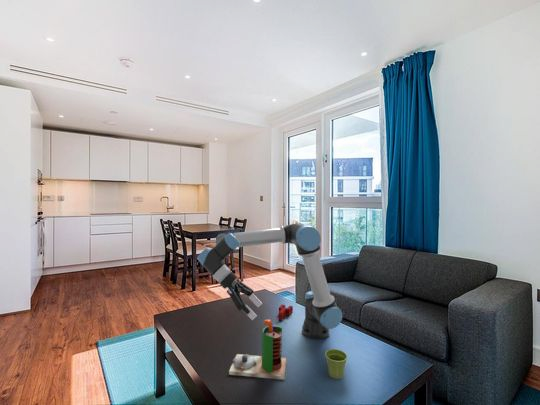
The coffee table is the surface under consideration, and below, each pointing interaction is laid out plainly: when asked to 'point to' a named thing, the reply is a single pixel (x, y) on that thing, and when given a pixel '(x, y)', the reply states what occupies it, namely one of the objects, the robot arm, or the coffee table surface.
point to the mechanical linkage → (284, 312)
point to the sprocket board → (255, 367)
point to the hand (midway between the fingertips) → (257, 311)
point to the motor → (271, 347)
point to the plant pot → (336, 362)
